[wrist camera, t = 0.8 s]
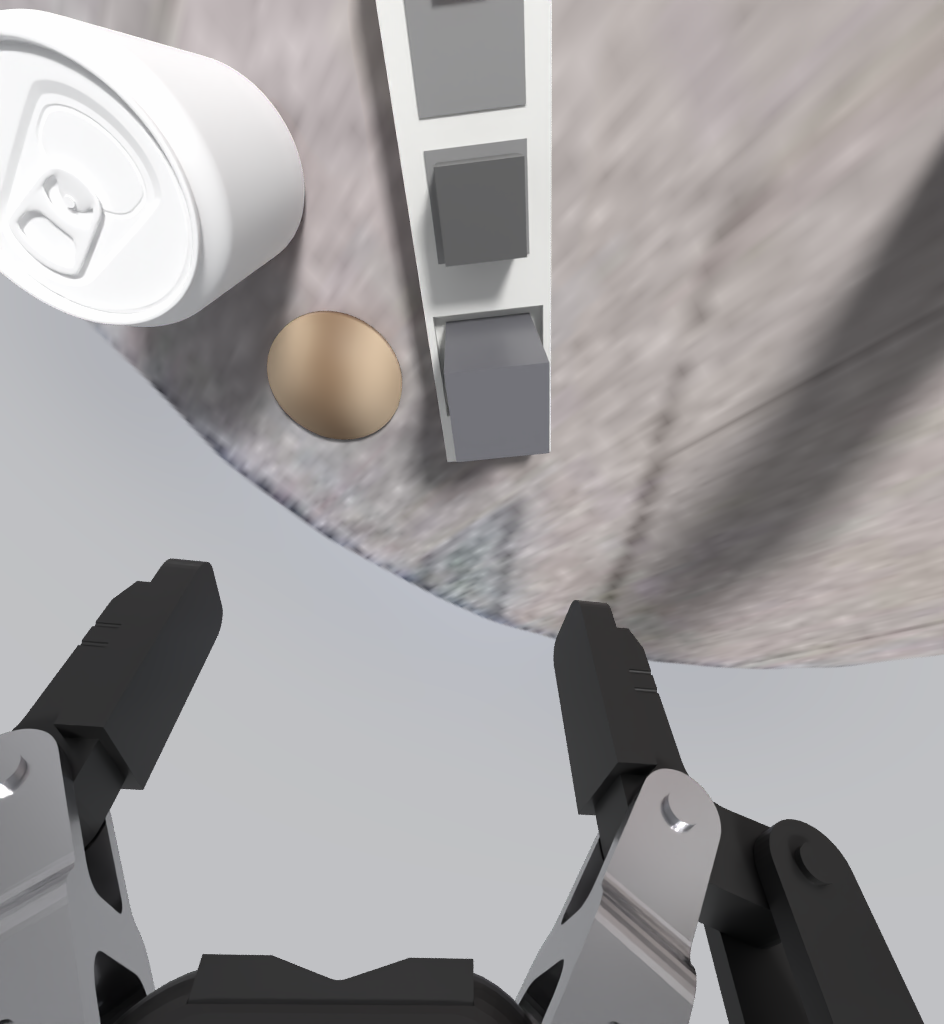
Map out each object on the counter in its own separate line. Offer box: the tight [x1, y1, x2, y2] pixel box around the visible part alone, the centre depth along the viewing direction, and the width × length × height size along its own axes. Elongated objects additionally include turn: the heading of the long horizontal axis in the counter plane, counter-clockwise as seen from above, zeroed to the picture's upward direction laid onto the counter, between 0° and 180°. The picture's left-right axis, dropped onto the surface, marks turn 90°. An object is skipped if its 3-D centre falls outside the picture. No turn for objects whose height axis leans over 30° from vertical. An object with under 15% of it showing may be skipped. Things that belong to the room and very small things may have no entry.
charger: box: [444, 313, 550, 462], centre depth 25 cm, size 4×5×7 cm
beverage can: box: [0, 9, 305, 327], centre depth 19 cm, size 8×8×12 cm
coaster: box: [267, 311, 402, 440], centre depth 30 cm, size 8×8×1 cm
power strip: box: [376, 0, 552, 462], centre depth 22 cm, size 6×26×6 cm, turn 6°
